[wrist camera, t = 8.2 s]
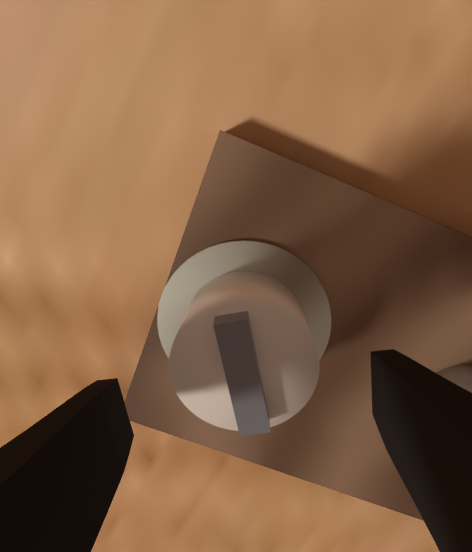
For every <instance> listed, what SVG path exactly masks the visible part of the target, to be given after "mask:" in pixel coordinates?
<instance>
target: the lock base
mask: <svg viewBox="0 0 472 552" xmlns="http://www.w3.org/2000/svg"><path fill="white" fill-rule="evenodd" d="M236 271H253V272H259V273H262V274H266V275H268V276H271V277H273V278H275V279H276V280H278V281H280V282H281V283H282V284H284V285H285V286H286V287H287V288H288V289H289V290H290V291H291V292H292V293H293V294H294V296H295V297H296V299H297V300H298V302H299V304H300V306H301V309H302V312H303V314H304V317H305V319H306V322H307V325H308V327H309V330H310V332H311V335H312V337H313V340H314V343H315V345H316V348H317V351H318V355H319V363H320V370H319V378H318V382H317V385H316V388H315V390H314V393H313V394H312V396H311V398H310V399H309V401H308V402H307V403H306V405H305V406H304V407H303V408H302V409H301V410H300V411H299V412H298V413H297V414H295V415H294V416H293V417H291V418H290V419H288V420H286V421H285V422H283V423H281V424H278V425H276V426H273V427H270V430H271V432H270V433H263V434H255V435H248V436H240V435H239V431H234V430H228V429H224V428H220V427H217V426H214V425H212V424H210V423H208V422H206V421H204V420H202V419H200V418H199V417H197V416H196V415H195V414H193V413H192V412H191V411H190V410H189V409H188V408H187V407H186V406H185V405H184V404H183V403H182V401H181V400H180V399H179V397H178V395H177V394H176V392H175V390H174V388H173V385H172V382H171V378H170V374H169V356H170V351H171V347H172V345H173V342H174V340H175V337H176V335H177V333H178V330H179V328H180V326H181V323H182V321H183V319H184V316H185V314H186V312H187V309H188V307H189V304H190V302H191V301H192V299H193V297H194V296H195V294H196V293H197V292H198V291H199V290H200V289H201V288H202V287H203V286H204V285H205V284H206V283H208V282H209V281H210V280H212V279H214V278H216V277H218V276H220V275H223V274H226V273H230V272H236ZM390 349H394V350H396V351H398V352H400V353H402V354H404V355H406V356H407V357H409V358H411V359H413V360H414V361H416V362H418V363H420V364H421V365H423V366H425V367H426V368H428V369H430V370H432V371H433V372H435V373H437V374H439V375H440V376H442V377H444V378H446V379H447V380H449V381H451V382H453V383H455V384H456V385H458V386H460V387H462V388H464V389H465V390H467V391H469V392H471V393H472V237H470V236H468V235H466V234H463V233H461V232H459V231H456V230H454V229H452V228H449V227H447V226H445V225H442V224H440V223H437V222H435V221H433V220H430V219H428V218H426V217H423V216H421V215H419V214H416V213H414V212H412V211H409V210H407V209H405V208H402V207H400V206H398V205H395V204H393V203H391V202H388V201H386V200H384V199H381V198H379V197H376V196H374V195H372V194H369V193H367V192H365V191H362V190H360V189H358V188H355V187H353V186H351V185H348V184H346V183H344V182H341V181H339V180H337V179H334V178H332V177H330V176H327V175H325V174H322V173H320V172H318V171H315V170H313V169H311V168H308V167H306V166H304V165H301V164H299V163H297V162H294V161H292V160H290V159H287V158H285V157H283V156H280V155H278V154H276V153H273V152H271V151H269V150H266V149H264V148H261V147H259V146H257V145H254V144H252V143H250V142H247V141H245V140H243V139H240V138H238V137H236V136H233V135H231V134H229V133H226V132H224V131H222V130H220V132H219V135H218V138H217V141H216V143H215V146H214V149H213V152H212V155H211V158H210V160H209V163H208V166H207V169H206V172H205V175H204V178H203V180H202V183H201V186H200V189H199V192H198V195H197V197H196V200H195V203H194V206H193V209H192V212H191V215H190V217H189V220H188V223H187V226H186V229H185V232H184V234H183V237H182V240H181V243H180V246H179V249H178V251H177V254H176V257H175V260H174V263H173V266H172V269H171V271H170V274H169V277H168V280H167V283H166V286H165V288H164V291H163V293H162V295H161V299H160V302H159V305H158V308H157V311H156V314H155V317H154V320H153V323H152V325H151V328H150V331H149V334H148V337H147V340H146V342H145V345H144V348H143V351H142V354H141V357H140V360H139V362H138V365H137V368H136V371H135V374H134V377H133V379H132V382H131V385H130V388H129V391H128V394H127V396H126V399H125V402H124V403H125V407H126V410H127V414H128V417H129V420H130V421H133V422H135V423H138V424H141V425H144V426H147V427H150V428H153V429H156V430H159V431H162V432H165V433H168V434H171V435H174V436H177V437H180V438H183V439H186V440H188V441H191V442H194V443H197V444H200V445H203V446H206V447H209V448H212V449H215V450H218V451H221V452H224V453H227V454H230V455H233V456H236V457H238V458H241V459H244V460H247V461H250V462H253V463H256V464H259V465H262V466H265V467H268V468H271V469H274V470H277V471H280V472H283V473H286V474H288V475H291V476H294V477H297V478H300V479H303V480H306V481H309V482H312V483H315V484H318V485H321V486H324V487H327V488H330V489H333V490H336V491H338V492H341V493H344V494H347V495H350V496H353V497H356V498H359V499H362V500H365V501H368V502H371V503H374V504H377V505H380V506H383V507H386V508H388V509H391V510H394V511H397V512H400V513H403V514H406V515H409V516H412V517H415V518H418V519H421V520H423V518H422V516H421V514H420V512H419V511H418V509H417V507H416V505H415V503H414V501H413V499H412V497H411V496H410V494H409V492H408V490H407V488H406V486H405V484H404V483H403V481H402V479H401V477H400V475H399V473H398V471H397V469H396V467H395V465H394V464H393V462H392V460H391V458H390V456H389V454H388V452H387V450H386V448H385V445H384V443H383V440H382V438H381V435H380V433H379V430H378V427H377V425H376V422H375V419H374V417H373V414H372V387H371V354H370V352H371V351H380V350H390Z"/></svg>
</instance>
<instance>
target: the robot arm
mask: <svg viewBox="0 0 472 552" xmlns="http://www.w3.org/2000/svg"><path fill="white" fill-rule="evenodd" d="M370 354H371V387H372V414H373V417H374V419H375V422H376V425H377V427H378V430H379V433H380V435H381V438H382V440H383V443H384V445H385V448H386V450H387V452H388V454H389V456H390V458H391V460H392V462H393V464H394V465H395V467H396V469H397V471H398V473H399V475H400V477H401V479H402V481H403V483H404V484H405V486H406V488H407V490H408V492H409V494H410V496H411V497H412V499H413V501H414V503H415V505H416V507H417V509H418V511H419V512H420V514H421V516H422V518H423V520H424V522H425V524H426V526H427V527H428V529H429V531H430V533H431V535H432V537H433V539H434V541H435V543H436V545H437V547H438V549H439V551H440V552H472V393H471V392H469V391H467V390H465V389H464V388H462V387H460V386H458V385H456V384H455V383H453V382H451V381H449V380H447V379H446V378H444V377H442V376H440V375H439V374H437V373H435V372H433V371H432V370H430V369H428V368H426V367H425V366H423V365H421V364H420V363H418V362H416V361H414V360H413V359H411V358H409V357H407V356H406V355H404V354H402V353H400V352H398V351H396V350H394V349H390V350H380V351H371V352H370ZM133 437H134V434H133V431H132V427H131V424H130V421H129V417H128V414H127V410H126V407H125V403H124V400H123V396H122V393H121V390H120V386H119V383H118V379H117V378H116V379H107V380H97V381H96V382H94V383H92V384H91V385H89V386H87V387H86V388H84V389H83V390H81V391H80V392H79V393H77V394H76V395H74V396H73V397H71V398H70V399H69V400H67V401H66V402H65V403H63V404H62V405H60V406H59V407H58V408H56V409H55V410H53V411H52V412H51V413H49V414H48V415H47V416H45V417H44V418H42V419H41V420H40V421H38V422H37V423H36V424H34V425H33V426H31V427H30V428H29V429H27V430H26V431H24V432H23V433H21V434H20V435H18V436H17V437H15V438H14V439H13V440H11V441H10V442H8V443H7V444H5V445H4V446H2V447H1V448H0V552H91V550H92V548H93V545H94V543H95V541H96V538H97V536H98V533H99V531H100V529H101V526H102V524H103V521H104V519H105V517H106V514H107V512H108V509H109V507H110V505H111V502H112V500H113V497H114V495H115V493H116V490H117V488H118V485H119V483H120V480H121V478H122V475H123V473H124V470H125V466H126V463H127V459H128V456H129V452H130V448H131V445H132V441H133Z"/></svg>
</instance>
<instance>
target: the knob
mask: <svg viewBox="0 0 472 552" xmlns="http://www.w3.org/2000/svg"><path fill="white" fill-rule="evenodd" d="M319 370H320V363H319V355H318V351H317V348H316V345H315V343H314V340H313V337H312V335H311V332H310V330H309V327H308V325H307V322H306V319H305V317H304V314H303V312H302V309H301V306H300V304H299V302H298V300H297V299H296V297H295V296H294V294H293V293H292V292H291V291H290V290H289V289H288V288H287V287H286V286H285V285H284V284H282V283H281V282H280V281H278V280H276V279H275V278H273V277H271V276H268V275H266V274H262V273H259V272H253V271H236V272H230V273H226V274H223V275H220V276H218V277H216V278H214V279H212V280H210V281H209V282H208V283H206V284H205V285H204V286H203V287H202V288H201V289H200V290H199V291H198V292H197V293H196V294H195V296H194V297H193V299H192V301H191V302H190V304H189V307H188V309H187V312H186V314H185V316H184V319H183V321H182V323H181V326H180V328H179V330H178V333H177V335H176V337H175V340H174V342H173V345H172V347H171V351H170V356H169V374H170V378H171V382H172V385H173V388H174V390H175V392H176V394H177V395H178V397H179V399H180V400H181V401H182V403H183V404H184V405H185V406H186V407H187V408H188V409H189V410H190V411H191V412H192V413H193V414H195V415H196V416H197V417H199V418H200V419H202V420H204V421H206V422H208V423H210V424H212V425H214V426H217V427H220V428H224V429H228V430H234V431H239V435H240V436H248V435H255V434H263V433H270V432H271V430H270V427H273V426H276V425H278V424H281V423H283V422H285V421H286V420H288V419H290V418H291V417H293V416H294V415H295V414H297V413H298V412H299V411H300V410H301V409H302V408H303V407H304V406H305V405H306V403H307V402H308V401H309V399H310V398H311V396H312V394H313V393H314V390H315V388H316V385H317V382H318V378H319Z"/></svg>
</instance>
